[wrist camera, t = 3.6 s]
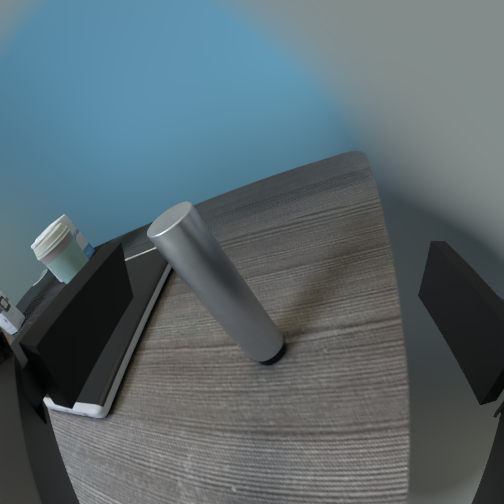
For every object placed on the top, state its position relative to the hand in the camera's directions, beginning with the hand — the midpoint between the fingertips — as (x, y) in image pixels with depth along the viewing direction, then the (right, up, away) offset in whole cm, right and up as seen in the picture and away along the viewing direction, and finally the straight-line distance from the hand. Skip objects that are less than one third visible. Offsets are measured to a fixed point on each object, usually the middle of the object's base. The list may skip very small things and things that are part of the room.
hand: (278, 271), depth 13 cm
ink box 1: (-59, -18, +48) cm, 79 cm away
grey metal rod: (0, -7, +11) cm, 13 cm away
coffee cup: (-32, -5, +43) cm, 54 cm away
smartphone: (-18, -9, +25) cm, 32 cm away
